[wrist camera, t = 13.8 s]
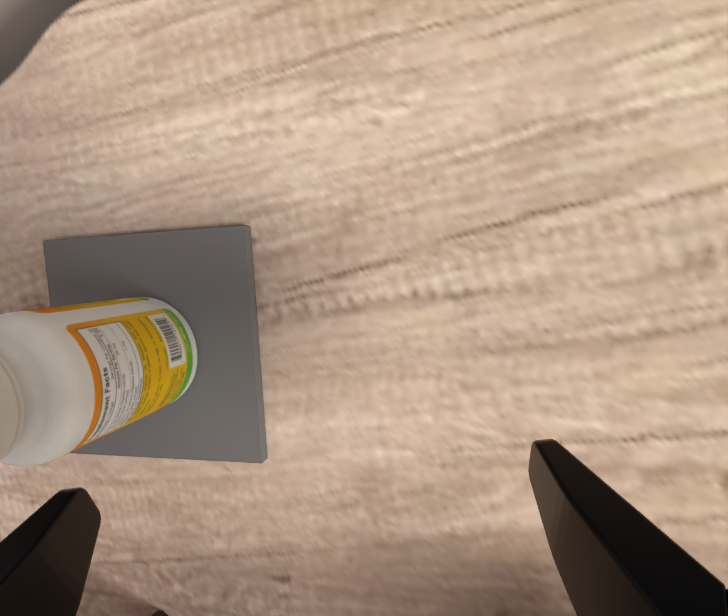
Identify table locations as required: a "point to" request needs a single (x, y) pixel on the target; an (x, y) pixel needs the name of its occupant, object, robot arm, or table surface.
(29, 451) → the supplement bottle
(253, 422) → the coaster mat
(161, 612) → the radio
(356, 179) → the table surface
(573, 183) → the table surface
